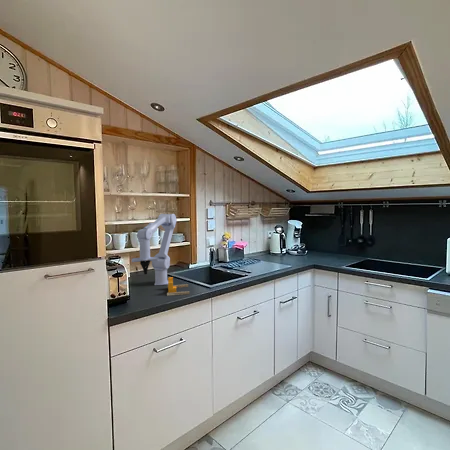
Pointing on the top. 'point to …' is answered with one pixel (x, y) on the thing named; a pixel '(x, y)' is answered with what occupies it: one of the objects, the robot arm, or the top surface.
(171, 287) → the pipe clamp
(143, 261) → the robot arm
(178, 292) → the rail channel
